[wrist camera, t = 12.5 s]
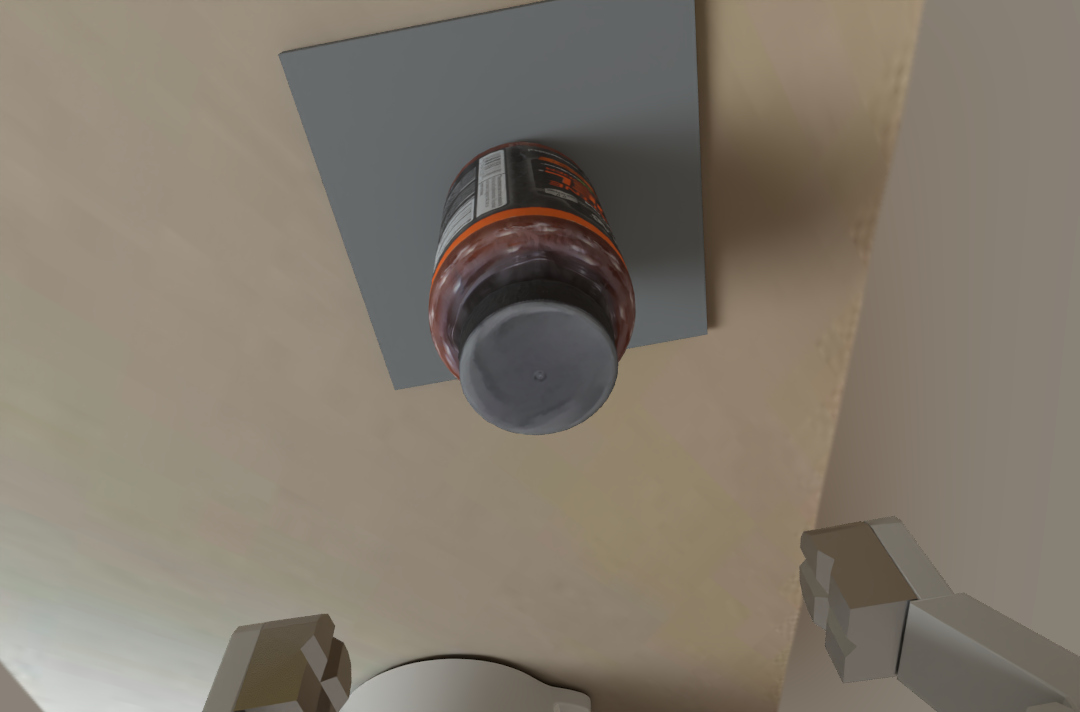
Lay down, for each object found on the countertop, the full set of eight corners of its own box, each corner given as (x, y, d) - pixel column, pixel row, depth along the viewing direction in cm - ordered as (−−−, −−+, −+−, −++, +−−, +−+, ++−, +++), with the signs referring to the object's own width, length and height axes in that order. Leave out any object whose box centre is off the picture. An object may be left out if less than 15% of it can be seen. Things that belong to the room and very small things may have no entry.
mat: (703, 327, 30) (707, 334, 30) (396, 382, 31) (395, 389, 30) (688, -28, 23) (693, -27, 22) (282, 51, 23) (278, 54, 23)
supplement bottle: (629, 206, 26) (711, 364, 17) (527, 310, 29) (549, 502, 19) (512, 100, 24) (532, 214, 15) (411, 221, 26) (370, 391, 17)
